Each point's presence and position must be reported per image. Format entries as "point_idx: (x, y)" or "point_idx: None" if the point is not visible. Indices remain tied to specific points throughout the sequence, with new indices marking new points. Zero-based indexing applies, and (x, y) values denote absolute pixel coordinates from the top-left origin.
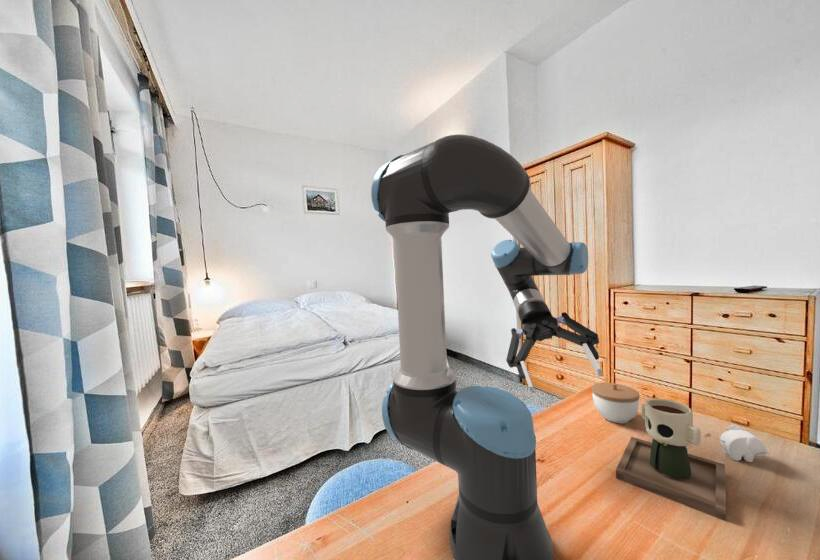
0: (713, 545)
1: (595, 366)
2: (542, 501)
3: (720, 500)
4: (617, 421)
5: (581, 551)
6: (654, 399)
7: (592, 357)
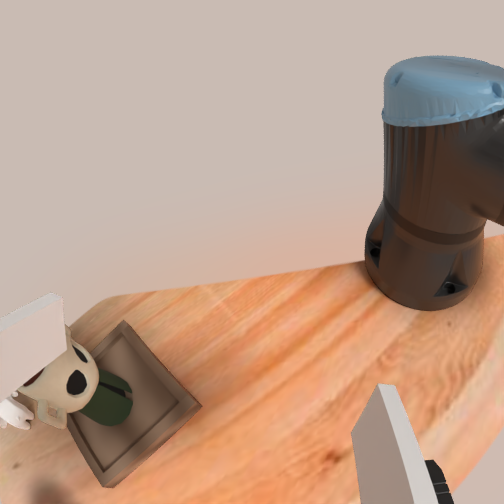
0: (174, 296)
1: (50, 304)
2: (361, 339)
3: (113, 334)
4: None
5: (328, 268)
6: (22, 387)
7: (10, 319)
